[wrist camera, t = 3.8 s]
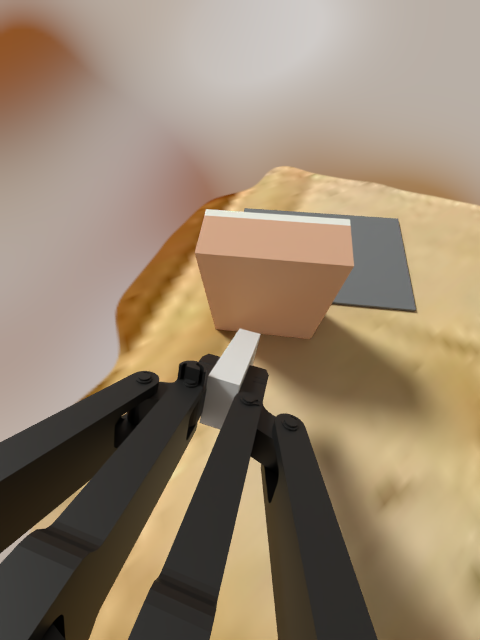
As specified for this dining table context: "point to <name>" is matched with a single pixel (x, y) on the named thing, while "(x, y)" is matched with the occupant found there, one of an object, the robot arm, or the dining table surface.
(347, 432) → the dining table surface
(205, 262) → the tan and white box
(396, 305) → the mat
